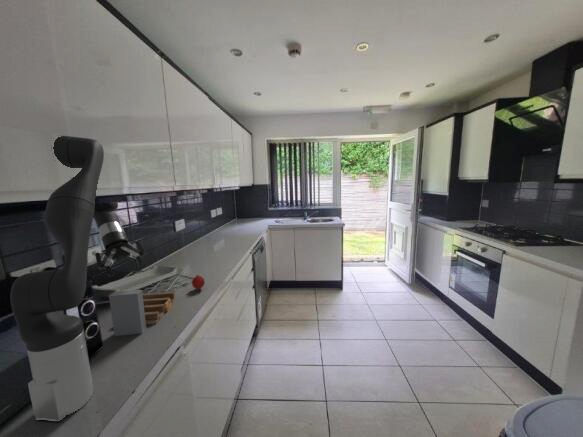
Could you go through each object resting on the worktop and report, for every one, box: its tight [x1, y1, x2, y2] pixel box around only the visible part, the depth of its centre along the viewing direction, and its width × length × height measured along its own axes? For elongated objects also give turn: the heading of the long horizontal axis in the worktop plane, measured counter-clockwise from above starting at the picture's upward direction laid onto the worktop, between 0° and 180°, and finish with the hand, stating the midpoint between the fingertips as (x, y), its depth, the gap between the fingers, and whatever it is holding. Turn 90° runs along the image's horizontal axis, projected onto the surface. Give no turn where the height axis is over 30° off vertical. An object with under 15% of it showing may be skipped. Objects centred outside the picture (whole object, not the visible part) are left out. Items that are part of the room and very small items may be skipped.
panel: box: [108, 289, 147, 337], centre depth 81 cm, size 3×9×15 cm, turn 97°
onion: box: [191, 274, 205, 291], centre depth 114 cm, size 6×6×8 cm
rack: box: [142, 291, 177, 325], centre depth 95 cm, size 20×15×4 cm
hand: (126, 271), depth 83 cm, fingers open, 8 cm apart
